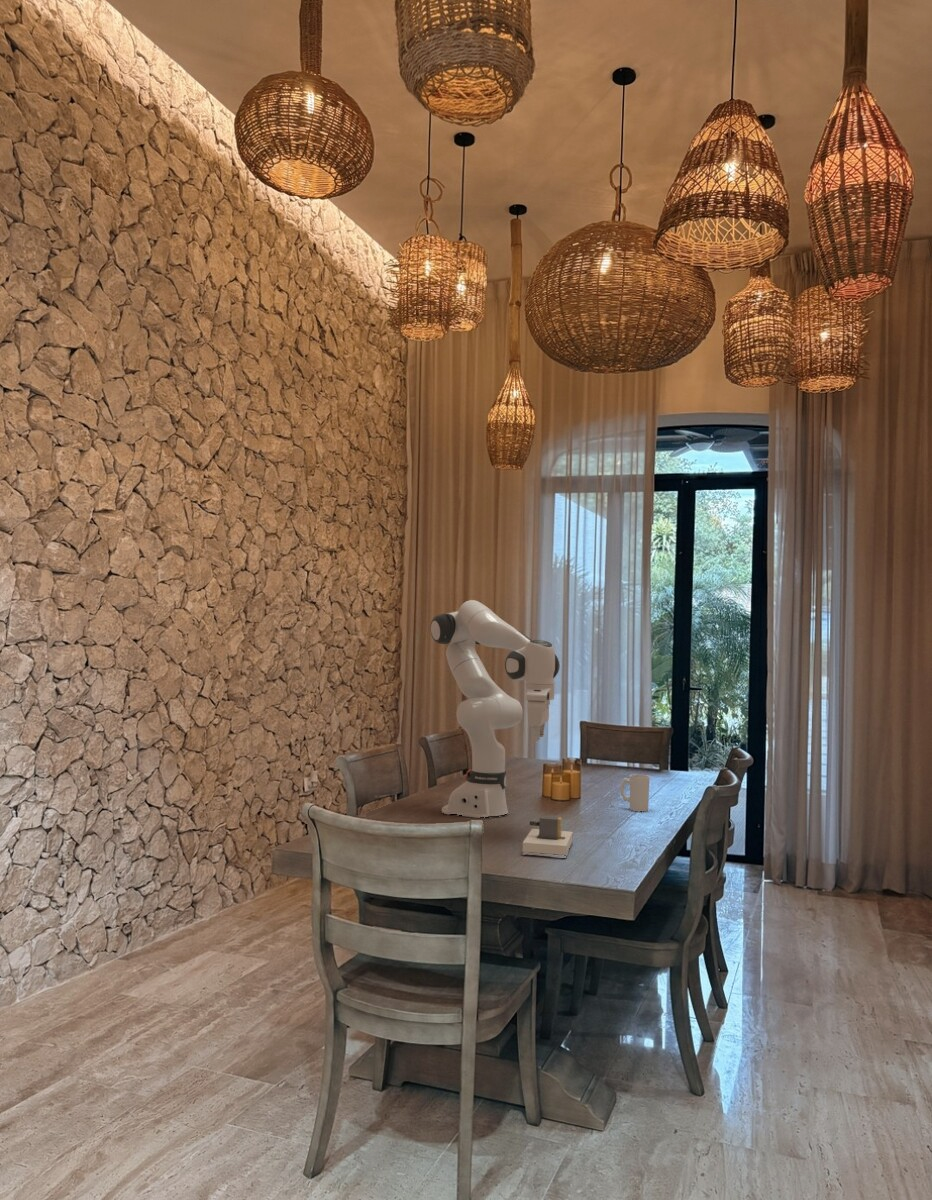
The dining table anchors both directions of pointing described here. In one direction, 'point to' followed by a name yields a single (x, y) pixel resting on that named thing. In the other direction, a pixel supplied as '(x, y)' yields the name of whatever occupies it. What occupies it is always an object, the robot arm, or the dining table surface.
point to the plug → (549, 827)
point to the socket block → (547, 843)
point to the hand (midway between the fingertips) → (538, 738)
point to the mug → (637, 792)
